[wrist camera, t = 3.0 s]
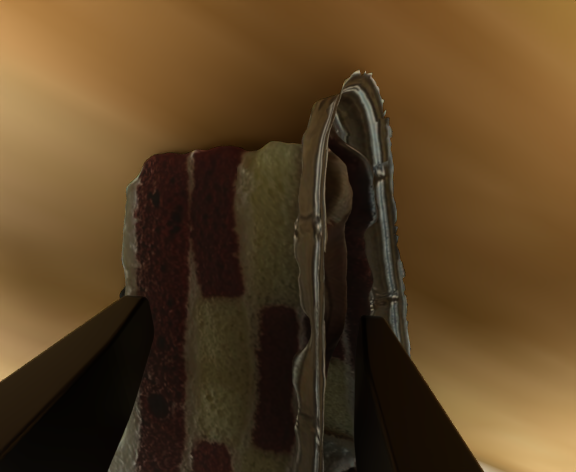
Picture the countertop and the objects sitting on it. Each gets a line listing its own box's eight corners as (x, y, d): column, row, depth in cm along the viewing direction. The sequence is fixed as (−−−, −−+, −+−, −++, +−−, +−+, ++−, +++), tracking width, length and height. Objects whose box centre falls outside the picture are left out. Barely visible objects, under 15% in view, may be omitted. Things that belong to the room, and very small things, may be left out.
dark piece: (36, 61, 10) (-107, 687, 9) (355, 20, 7) (219, 993, 5) (256, 185, 19) (203, 511, 17) (445, 191, 15) (401, 592, 14)
